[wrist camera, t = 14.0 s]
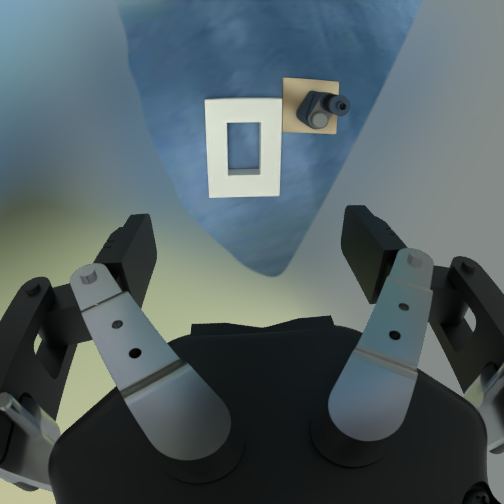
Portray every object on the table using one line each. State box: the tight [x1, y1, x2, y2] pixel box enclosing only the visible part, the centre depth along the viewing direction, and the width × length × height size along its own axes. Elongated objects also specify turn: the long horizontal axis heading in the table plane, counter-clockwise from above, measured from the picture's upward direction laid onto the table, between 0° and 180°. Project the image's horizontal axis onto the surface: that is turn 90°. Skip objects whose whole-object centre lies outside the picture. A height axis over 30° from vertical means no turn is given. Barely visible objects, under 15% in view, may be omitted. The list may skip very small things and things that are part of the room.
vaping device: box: [296, 90, 350, 130], centre depth 34 cm, size 3×5×12 cm, turn 150°
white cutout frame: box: [205, 97, 282, 198], centre depth 41 cm, size 14×10×3 cm
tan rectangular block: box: [282, 78, 339, 134], centre depth 39 cm, size 8×8×1 cm
